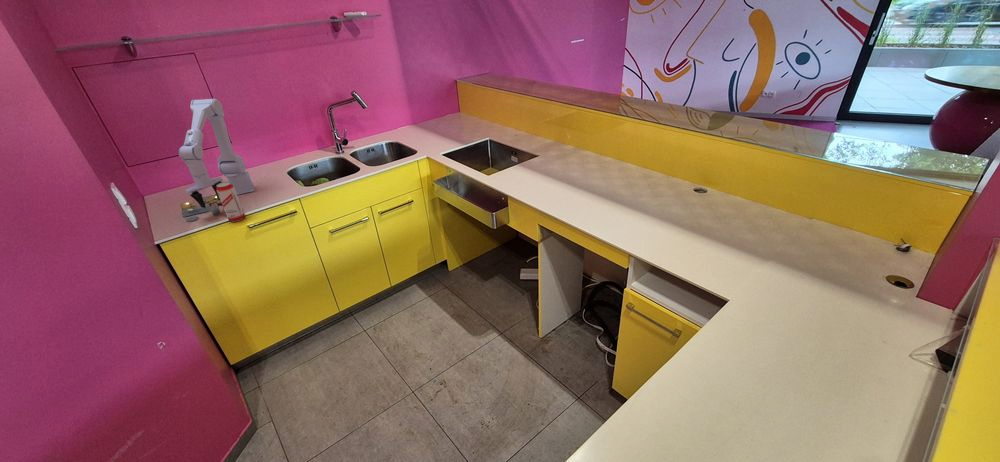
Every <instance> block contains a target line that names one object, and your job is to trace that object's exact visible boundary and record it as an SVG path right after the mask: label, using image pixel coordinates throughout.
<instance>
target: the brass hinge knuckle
mask: <svg viewBox="0 0 1000 462" xmlns="http://www.w3.org/2000/svg"><path fill="white" fill-rule="evenodd" d="M179 205H180V208H181V215H182V217H183V218H185V217H191V216H193V215H198V214H203V213H207V212H211V210H210V208H209V205H208V204H205V206H206V207H205V208H202V207H201V206H200V205H197V204H196V202H195V201H194V200H188V201H184V202H180V204H179Z"/></svg>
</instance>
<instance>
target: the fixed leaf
mask: <svg viewBox="0 0 1000 462" xmlns="http://www.w3.org/2000/svg"><path fill="white" fill-rule="evenodd" d="M202 198H203V201H204V203H205V204H207V203H206V200H207V199H210V198H216V199H217V201H216V202H217V204H218V205H222V203H221V200H218V198H217V195H216V193H215V194H211V195H207V196H202Z"/></svg>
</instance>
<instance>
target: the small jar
mask: <svg viewBox="0 0 1000 462" xmlns="http://www.w3.org/2000/svg"><path fill="white" fill-rule="evenodd" d="M216 201H217V199H216V198H210V199H207V200H206V203H207V204H208V205H209V208H210V212H211V215H212V216H219V215H221V214H222V211H221V209H220V207H219V204H217V202H216Z"/></svg>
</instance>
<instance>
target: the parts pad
mask: <svg viewBox="0 0 1000 462" xmlns="http://www.w3.org/2000/svg"><path fill="white" fill-rule="evenodd" d="M198 220H199V216H198V215H197V216H196V215H195V216H189V217H188V218H186V220H185V222H187V223H192V222H195V221H198Z"/></svg>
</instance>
